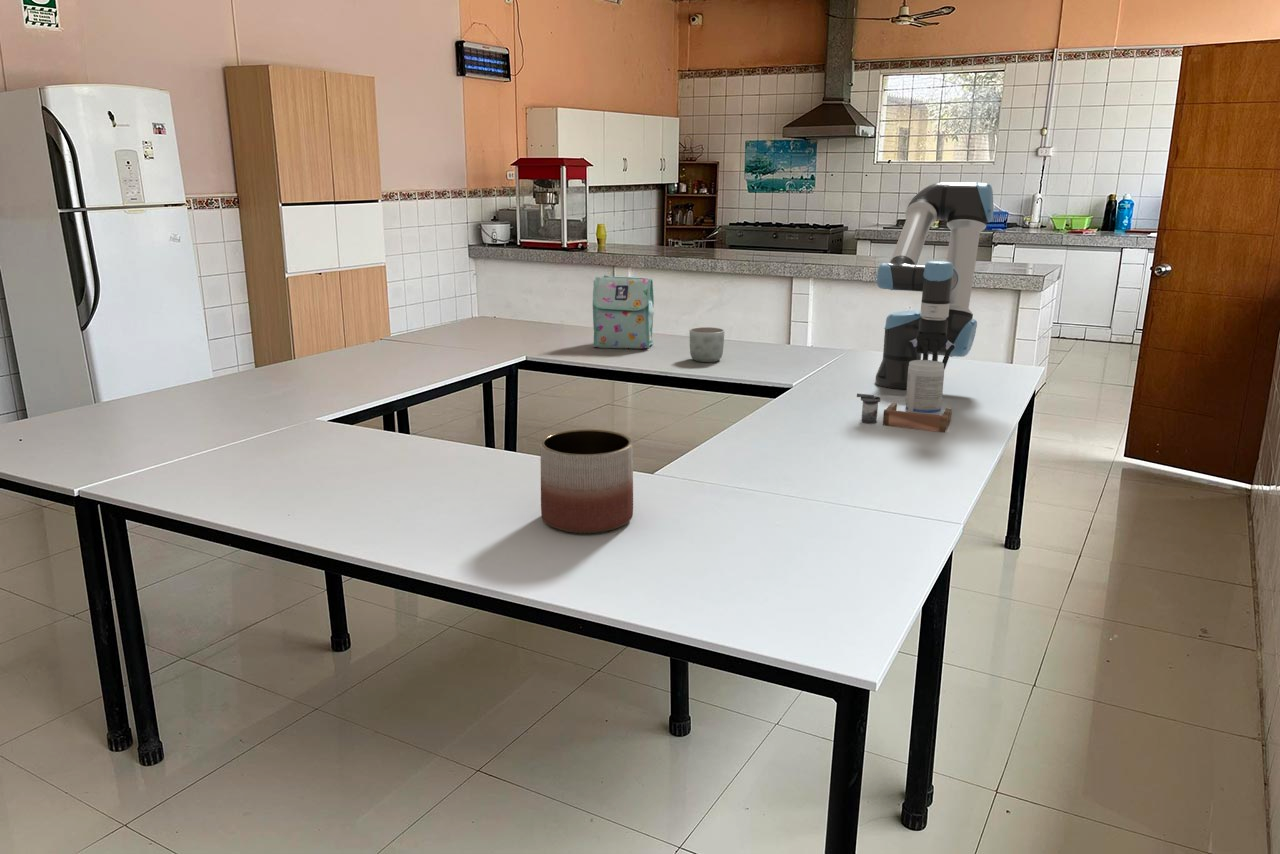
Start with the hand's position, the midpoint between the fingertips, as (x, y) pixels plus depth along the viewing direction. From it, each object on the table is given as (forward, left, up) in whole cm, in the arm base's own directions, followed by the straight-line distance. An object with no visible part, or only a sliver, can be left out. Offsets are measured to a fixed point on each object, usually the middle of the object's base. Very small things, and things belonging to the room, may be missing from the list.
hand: (926, 400), depth 260 cm
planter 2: (-39, -81, -3) cm, 90 cm away
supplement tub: (+6, 0, -3) cm, 7 cm away
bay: (+16, 0, -3) cm, 17 cm away
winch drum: (+20, -12, -3) cm, 24 cm away
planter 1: (+117, -47, -3) cm, 126 cm away
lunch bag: (-50, -119, -3) cm, 129 cm away
